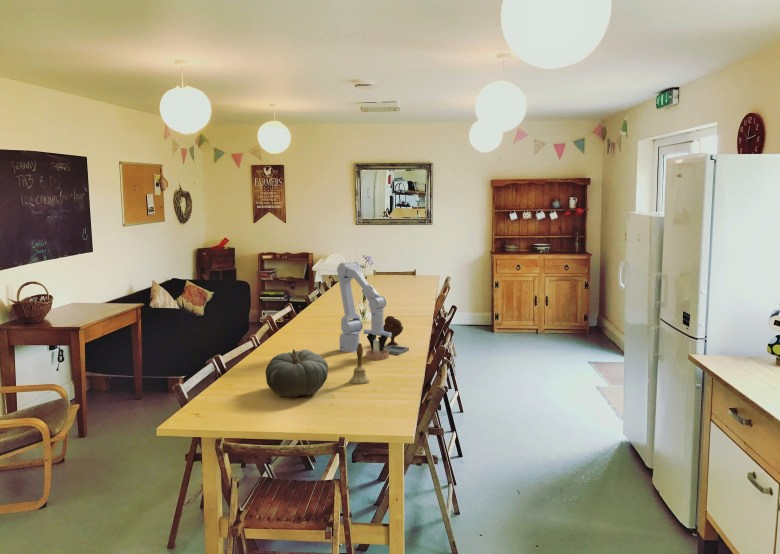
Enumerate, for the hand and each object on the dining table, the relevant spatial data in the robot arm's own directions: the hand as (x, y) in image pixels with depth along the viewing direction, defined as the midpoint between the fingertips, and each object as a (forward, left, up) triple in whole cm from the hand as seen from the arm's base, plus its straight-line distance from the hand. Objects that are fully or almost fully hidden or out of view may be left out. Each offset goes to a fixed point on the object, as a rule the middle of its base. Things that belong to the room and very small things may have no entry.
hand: (377, 350), depth 290 cm
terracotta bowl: (0, 0, -4) cm, 4 cm away
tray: (+2, +13, -4) cm, 14 cm away
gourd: (0, -59, -4) cm, 59 cm away
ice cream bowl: (-7, +26, -4) cm, 27 cm away
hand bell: (+13, -35, -4) cm, 38 cm away
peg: (0, 0, -3) cm, 3 cm away
